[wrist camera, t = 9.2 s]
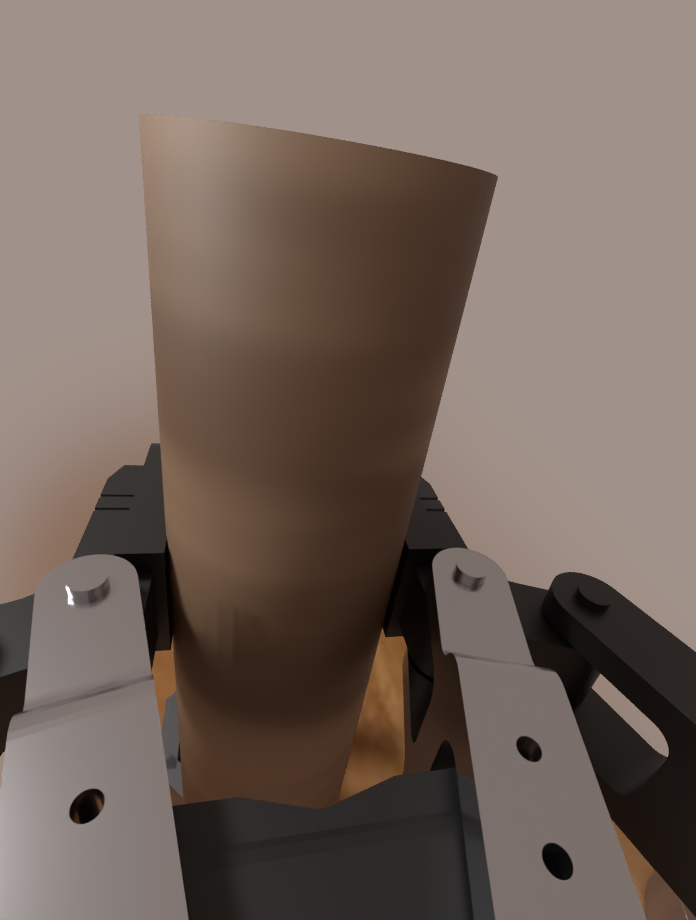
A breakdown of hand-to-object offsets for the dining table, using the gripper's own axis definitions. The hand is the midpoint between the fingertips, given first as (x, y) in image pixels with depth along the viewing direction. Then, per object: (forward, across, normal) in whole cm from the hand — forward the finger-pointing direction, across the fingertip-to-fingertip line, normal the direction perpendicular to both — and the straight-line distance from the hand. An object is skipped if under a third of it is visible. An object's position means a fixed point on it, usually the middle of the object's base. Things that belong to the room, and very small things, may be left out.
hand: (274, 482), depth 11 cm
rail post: (-3, 0, +10) cm, 10 cm away
